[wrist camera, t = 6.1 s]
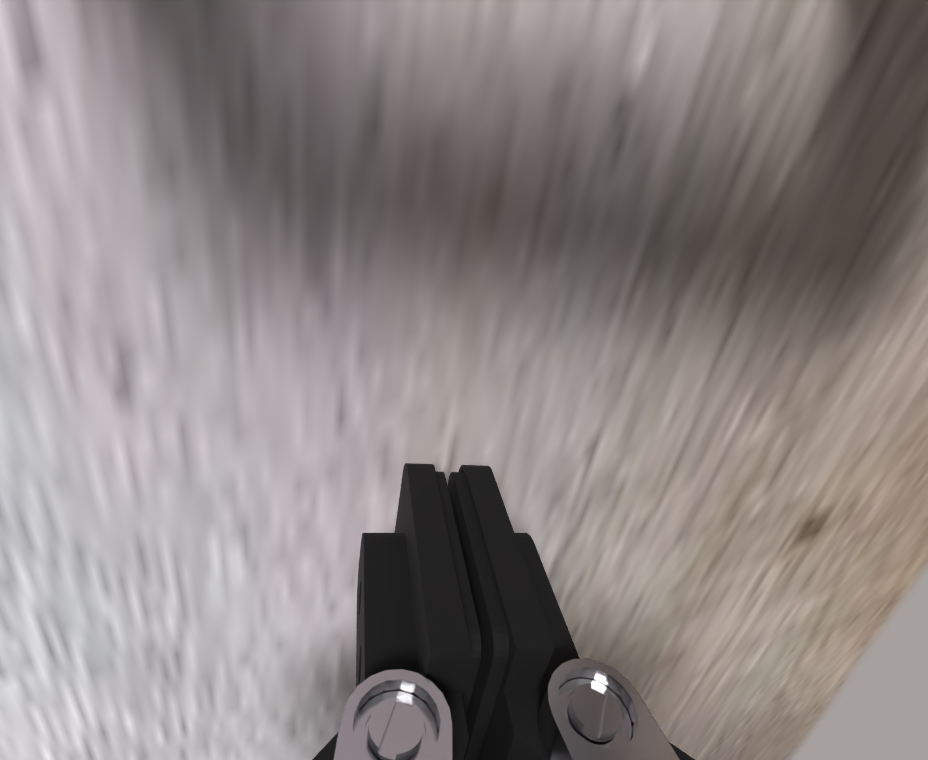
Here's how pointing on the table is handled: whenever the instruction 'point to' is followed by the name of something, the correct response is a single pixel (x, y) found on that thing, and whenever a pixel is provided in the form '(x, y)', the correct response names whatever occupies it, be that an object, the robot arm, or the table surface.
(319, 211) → the table surface
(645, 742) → the robot arm
